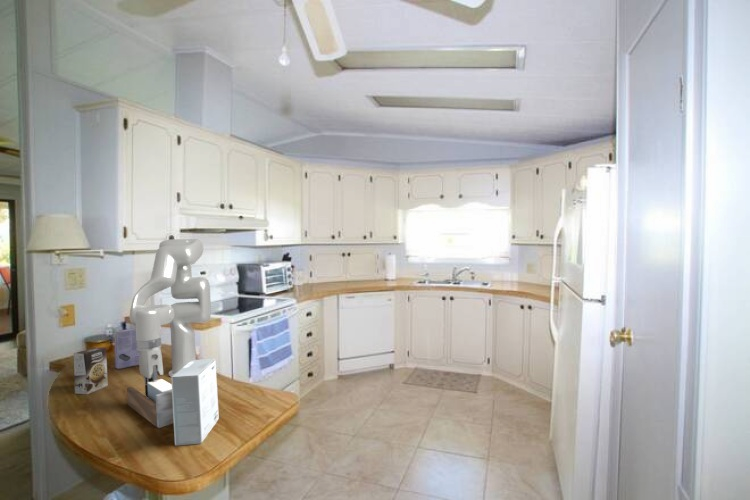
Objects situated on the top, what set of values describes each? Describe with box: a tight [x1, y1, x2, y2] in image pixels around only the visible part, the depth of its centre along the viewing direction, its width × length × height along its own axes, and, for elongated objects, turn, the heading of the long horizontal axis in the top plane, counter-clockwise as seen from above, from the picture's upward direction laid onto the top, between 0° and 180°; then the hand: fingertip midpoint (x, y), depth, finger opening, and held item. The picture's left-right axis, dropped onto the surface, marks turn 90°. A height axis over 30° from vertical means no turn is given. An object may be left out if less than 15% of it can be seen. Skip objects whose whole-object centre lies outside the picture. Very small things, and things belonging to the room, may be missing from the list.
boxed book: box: [146, 378, 172, 403], centre depth 128 cm, size 4×14×10 cm, turn 48°
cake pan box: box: [114, 327, 139, 370], centre depth 187 cm, size 19×5×18 cm, turn 134°
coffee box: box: [73, 346, 109, 395], centre depth 154 cm, size 9×6×16 cm
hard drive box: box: [170, 358, 220, 446], centre depth 115 cm, size 16×8×20 cm, turn 5°
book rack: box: [126, 386, 174, 429], centre depth 132 cm, size 9×30×10 cm, turn 49°
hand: (151, 395), depth 135 cm, fingers closed
